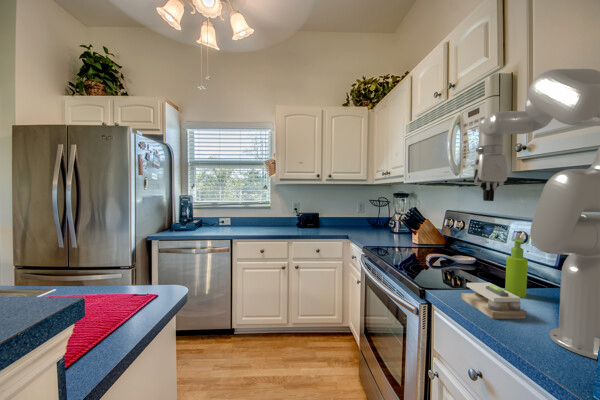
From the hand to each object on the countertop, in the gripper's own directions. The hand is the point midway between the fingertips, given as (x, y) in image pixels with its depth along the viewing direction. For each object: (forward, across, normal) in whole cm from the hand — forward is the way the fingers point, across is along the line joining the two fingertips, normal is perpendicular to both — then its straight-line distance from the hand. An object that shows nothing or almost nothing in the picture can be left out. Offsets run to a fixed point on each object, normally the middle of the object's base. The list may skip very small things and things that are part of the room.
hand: (488, 200), depth 101 cm
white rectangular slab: (+28, -11, -17) cm, 35 cm away
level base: (+33, -11, -17) cm, 39 cm away
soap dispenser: (+33, +6, -7) cm, 35 cm away
